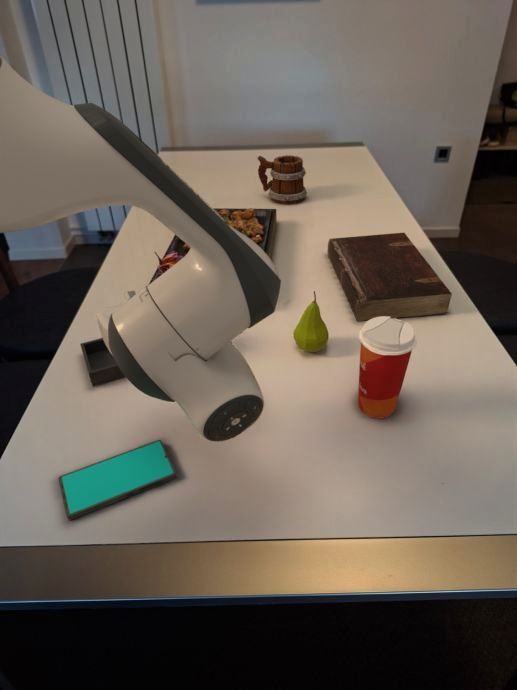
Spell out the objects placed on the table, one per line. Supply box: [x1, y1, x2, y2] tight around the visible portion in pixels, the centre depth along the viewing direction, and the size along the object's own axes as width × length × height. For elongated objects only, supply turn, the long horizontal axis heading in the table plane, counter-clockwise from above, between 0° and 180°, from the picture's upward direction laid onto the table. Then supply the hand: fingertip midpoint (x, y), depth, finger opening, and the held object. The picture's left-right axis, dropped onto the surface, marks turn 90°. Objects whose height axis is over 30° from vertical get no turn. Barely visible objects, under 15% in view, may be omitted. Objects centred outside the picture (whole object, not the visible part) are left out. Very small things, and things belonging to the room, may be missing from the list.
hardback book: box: [327, 232, 452, 322], centre depth 110 cm, size 29×19×5 cm, turn 5°
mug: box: [257, 154, 308, 205], centre depth 151 cm, size 12×14×15 cm
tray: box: [79, 337, 126, 388], centre depth 91 cm, size 18×10×3 cm, turn 115°
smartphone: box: [57, 439, 177, 521], centre depth 70 cm, size 7×1×15 cm
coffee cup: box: [357, 316, 418, 419], centre depth 76 cm, size 8×8×15 cm
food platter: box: [148, 207, 278, 285], centre depth 119 cm, size 45×25×10 cm, turn 175°
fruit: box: [292, 290, 329, 353], centre depth 89 cm, size 6×6×12 cm
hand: (161, 288), depth 73 cm, fingers open, 8 cm apart
